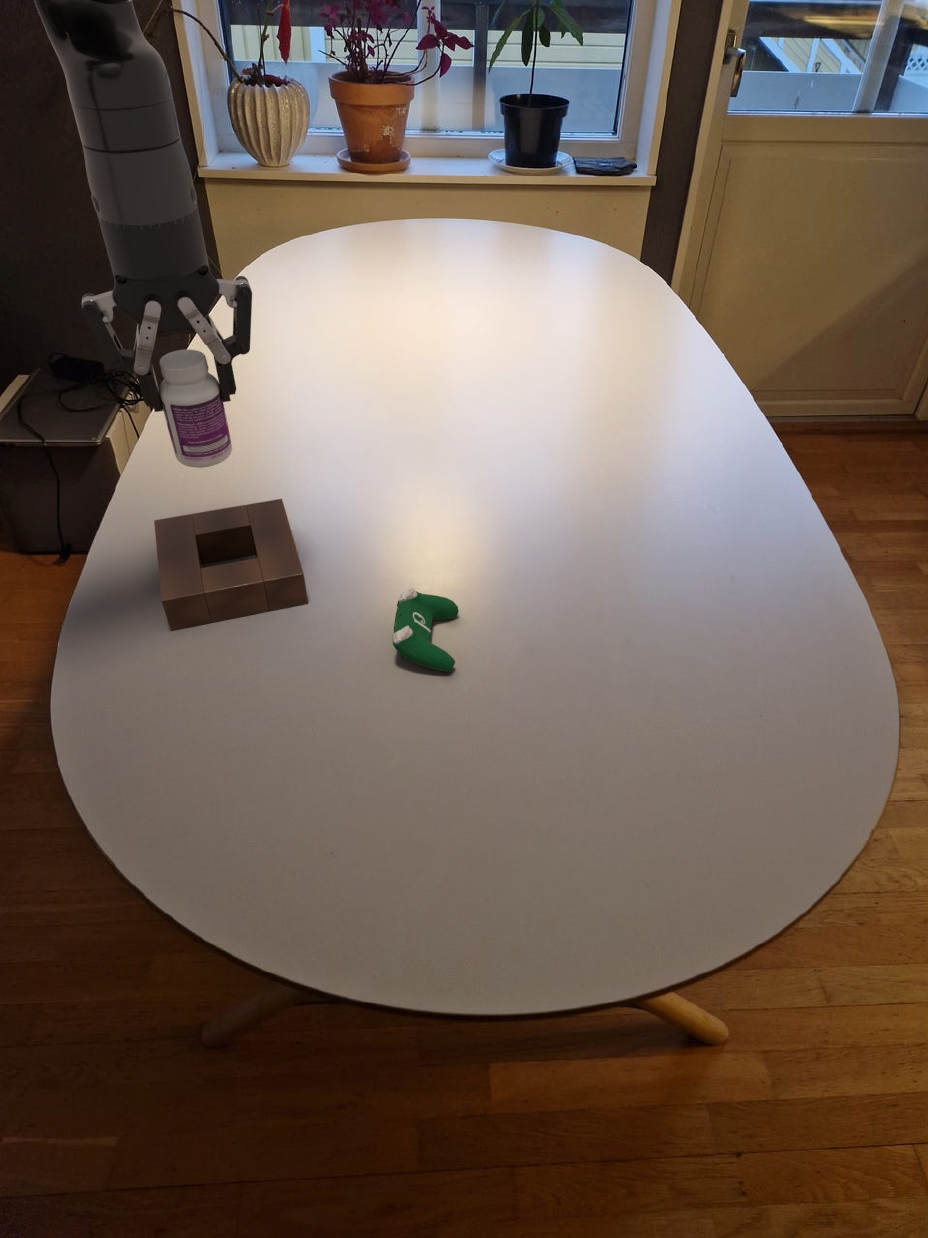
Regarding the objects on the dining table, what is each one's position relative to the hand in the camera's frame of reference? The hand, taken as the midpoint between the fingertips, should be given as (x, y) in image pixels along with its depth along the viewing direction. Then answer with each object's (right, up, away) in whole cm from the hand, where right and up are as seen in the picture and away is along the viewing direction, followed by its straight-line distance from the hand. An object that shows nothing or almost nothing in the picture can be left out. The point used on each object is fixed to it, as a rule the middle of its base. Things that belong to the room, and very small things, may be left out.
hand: (192, 401), depth 78 cm
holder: (0, -15, +14) cm, 21 cm away
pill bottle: (0, -4, +4) cm, 6 cm away
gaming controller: (+21, -22, +7) cm, 31 cm away
